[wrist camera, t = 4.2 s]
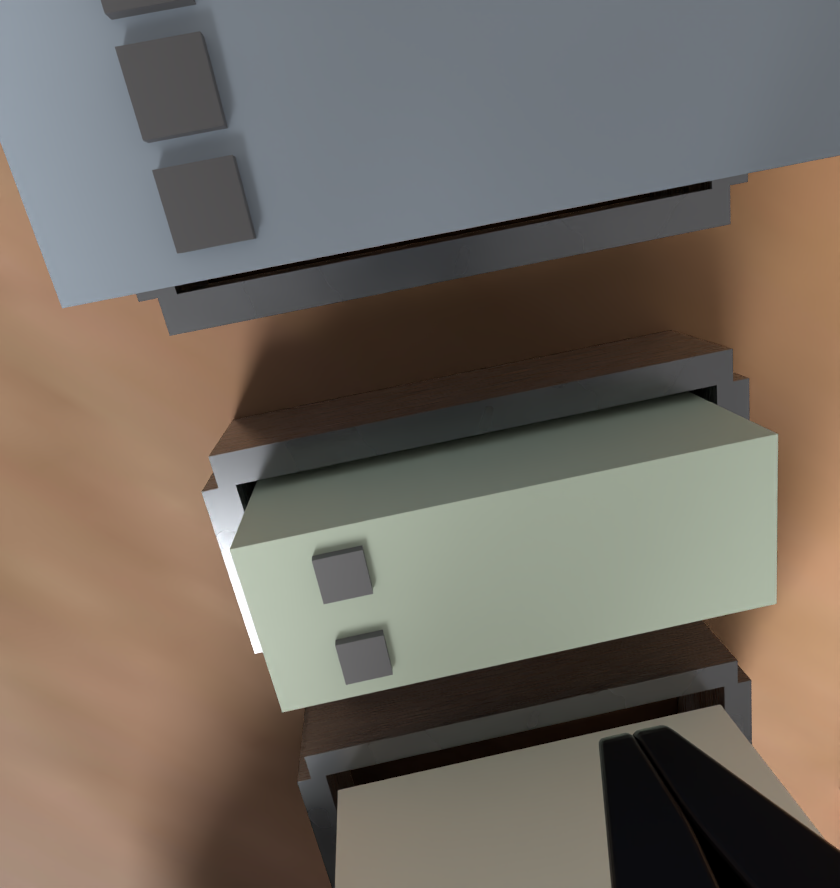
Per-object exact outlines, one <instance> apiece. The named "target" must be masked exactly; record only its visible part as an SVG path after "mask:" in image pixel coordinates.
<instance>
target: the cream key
mask: <svg viewBox="0 0 840 888" xmlns="http://www.w3.org/2000/svg"><path fill="white" fill-rule="evenodd" d="M658 725H665V726H668V727H670V728H671V729H673V730H674V731H676V732H677V733H679V734H680V735H681V736H683V737H684V738H685V739H687V740H688V741H690V742H691V743H692V744H694V745H695V746H696V747H698V748H699V749H701V750H702V751H703V752H705V753H706V754H707V755H709V756H710V757H712V758H713V759H714V760H716V761H717V762H718V763H720V764H721V765H723V766H724V767H725V768H727V769H728V770H730V771H731V772H732V773H734V774H735V775H736V776H738V777H739V778H741V779H742V780H743V781H745V782H746V783H747V784H749V785H750V786H752V787H753V788H754V789H756V790H757V791H758V792H760V793H761V794H763V795H764V796H765V797H767V798H768V799H770V800H771V801H772V802H774V803H775V804H776V805H778V806H779V807H781V808H782V809H783V810H785V811H786V812H787V813H789V814H790V815H792V816H793V817H794V818H796V819H797V820H798V821H800V822H801V823H803V824H804V825H805V826H807V827H808V828H809V829H811V830H812V831H814V832H815V833H816V834H818V835H819V836H821V837H822V838H823V836H822V835H821V834H820V832H819V831H818V830H817V829H816V827H815V826H814V825H813V823H812V822H811V821H810V820H809V818H808V817H807V816H806V814H805V813H804V812H803V810H802V809H801V808H800V807H799V805H798V804H797V803H796V801H795V800H794V799H793V798H792V796H791V795H790V794H789V792H788V791H787V790H786V789H785V787H784V786H783V785H782V783H781V782H780V781H779V779H778V778H777V777H776V776H775V774H774V773H773V772H772V770H771V769H770V768H769V767H768V765H767V764H766V763H765V761H764V760H763V759H762V758H761V756H760V755H759V754H758V752H757V751H756V750H755V749H754V747H753V746H752V745H751V743H750V742H749V741H748V739H747V738H746V737H745V736H744V734H743V733H742V732H741V730H740V729H739V728H738V727H737V725H736V724H735V723H734V721H733V720H732V719H731V718H730V716H729V715H728V714H727V712H726V711H725V710H724V709H723V707H722V706H721V705H715V706H711V707H706V708H702V709H697V710H693V711H688V712H684V713H680V714H675V715H671V716H666V717H662V718H657V719H653V720H648V721H644V722H639V723H635V724H631V725H626V726H622V727H617V728H613V729H608V730H604V731H599V732H595V733H591V734H586V735H582V736H577V737H573V738H568V739H564V740H559V741H555V742H550V743H546V744H542V745H537V746H533V747H528V748H524V749H519V750H515V751H510V752H506V753H502V754H497V755H493V756H488V757H484V758H479V759H475V760H470V761H466V762H461V763H457V764H453V765H448V766H444V767H439V768H435V769H430V770H426V771H421V772H417V773H412V774H408V775H404V776H399V777H395V778H390V779H386V780H381V781H377V782H372V783H368V784H364V785H359V786H355V787H350V788H346V789H341V790H338V807H337V837H336V868H335V888H611V879H610V868H609V857H608V846H607V834H606V823H605V812H604V800H603V789H602V778H601V766H600V755H599V740H600V739H601V738H604V737H608V736H613V735H618V734H622V733H629V734H631V735H633V733H634V732H635V731H637V730H640V729H645V728H649V727H654V726H658ZM823 839H824V838H823Z"/></svg>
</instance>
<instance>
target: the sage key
mask: <svg viewBox="0 0 840 888" xmlns="http://www.w3.org/2000/svg"><path fill="white" fill-rule="evenodd" d="M777 489H778V434H777V433H775V432H773V431H771V430H769V429H767V428H764V427H762V426H760V425H758V424H756V423H754V422H752V421H750V420H748V419H745V418H743V417H741V416H739V415H737V414H735V413H733V412H731V411H728V410H726V409H724V408H722V407H720V406H718V405H716V404H714V403H712V402H709V401H707V400H705V399H703V398H701V397H699V396H697V395H695V394H693V393H690V392H688V391H685V392H681V393H676V394H671V395H666V396H661V397H656V398H652V399H647V400H642V401H637V402H632V403H628V404H623V405H618V406H613V407H608V408H603V409H599V410H594V411H589V412H584V413H579V414H575V415H570V416H565V417H560V418H555V419H550V420H546V421H541V422H536V423H531V424H526V425H522V426H517V427H512V428H507V429H502V430H497V431H493V432H488V433H483V434H478V435H473V436H469V437H464V438H459V439H454V440H449V441H444V442H440V443H435V444H430V445H425V446H420V447H416V448H411V449H406V450H401V451H396V452H391V453H387V454H382V455H377V456H372V457H367V458H363V459H358V460H353V461H348V462H343V463H338V464H334V465H329V466H324V467H319V468H314V469H310V470H305V471H300V472H295V473H290V474H285V475H281V476H276V477H271V478H266V479H261V480H257V482H256V485H255V487H254V490H253V492H252V495H251V497H250V500H249V502H248V505H247V507H246V510H245V512H244V515H243V517H242V520H241V522H240V525H239V527H238V530H237V532H236V535H235V537H234V540H233V542H232V545H231V547H230V553H231V556H232V559H233V562H234V565H235V568H236V571H237V574H238V577H239V580H240V583H241V587H242V590H243V593H244V596H245V599H246V602H247V605H248V608H249V611H250V614H251V617H252V620H253V624H254V627H255V630H256V633H257V636H258V639H259V642H260V645H261V648H262V651H263V654H264V657H265V661H266V664H267V667H268V670H269V673H270V676H271V679H272V682H273V685H274V688H275V691H276V694H277V698H278V701H279V704H280V707H281V710H282V712H286V711H291V710H296V709H300V708H305V707H309V706H314V705H318V704H323V703H327V702H332V701H336V700H341V699H346V698H350V697H355V696H359V695H364V694H368V693H373V692H377V691H382V690H386V689H391V688H396V687H400V686H405V685H409V684H414V683H418V682H423V681H427V680H432V679H436V678H441V677H446V676H450V675H455V674H459V673H464V672H468V671H473V670H477V669H482V668H487V667H491V666H496V665H500V664H505V663H509V662H514V661H518V660H523V659H527V658H532V657H537V656H541V655H546V654H550V653H555V652H559V651H564V650H568V649H573V648H577V647H582V646H587V645H591V644H596V643H600V642H605V641H609V640H614V639H618V638H623V637H627V636H632V635H637V634H641V633H646V632H650V631H655V630H659V629H664V628H668V627H673V626H677V625H682V624H687V623H691V622H696V621H700V620H705V619H709V618H714V617H718V616H723V615H727V614H732V613H737V612H741V611H746V610H750V609H755V608H759V607H764V606H768V605H773V604H776V596H777Z"/></svg>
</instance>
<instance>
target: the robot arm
mask: <svg viewBox="0 0 840 888" xmlns="http://www.w3.org/2000/svg"><path fill="white" fill-rule="evenodd" d="M599 755H600V766H601V778H602V789H603V800H604V812H605V823H606V834H607V846H608V857H609V868H610V879H611V888H840V850H838V849H837V848H836V847H834V846H833V845H832V844H830V843H829V842H827V841H826V840H825V839H823V838H822V837H821V836H819V835H818V834H816V833H815V832H814V831H812V830H811V829H809V828H808V827H807V826H805V825H804V824H803V823H801V822H800V821H798V820H797V819H796V818H794V817H793V816H792V815H790V814H789V813H787V812H786V811H785V810H783V809H782V808H781V807H779V806H778V805H776V804H775V803H774V802H772V801H771V800H770V799H768V798H767V797H765V796H764V795H763V794H761V793H760V792H758V791H757V790H756V789H754V788H753V787H752V786H750V785H749V784H747V783H746V782H745V781H743V780H742V779H741V778H739V777H738V776H736V775H735V774H734V773H732V772H731V771H730V770H728V769H727V768H725V767H724V766H723V765H721V764H720V763H718V762H717V761H716V760H714V759H713V758H712V757H710V756H709V755H707V754H706V753H705V752H703V751H702V750H701V749H699V748H698V747H696V746H695V745H694V744H692V743H691V742H690V741H688V740H687V739H685V738H684V737H683V736H681V735H680V734H679V733H677V732H676V731H674V730H673V729H671V728H670V727H668V726H665V725H658V726H654V727H649V728H645V729H640V730H637V731H635V732H634V733H633V735H631V734H629V733H622V734H618V735H613V736H608V737H604V738H601V739H600V740H599Z"/></svg>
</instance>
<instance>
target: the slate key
mask: <svg viewBox="0 0 840 888" xmlns="http://www.w3.org/2000/svg"><path fill="white" fill-rule="evenodd" d="M0 142H1V145H2V148H3V150H4V153H5V156H6V158H7V161H8V164H9V166H10V169H11V172H12V174H13V177H14V180H15V182H16V185H17V188H18V191H19V193H20V196H21V199H22V201H23V204H24V207H25V209H26V212H27V215H28V217H29V220H30V223H31V226H32V228H33V231H34V234H35V236H36V239H37V242H38V244H39V247H40V250H41V252H42V255H43V258H44V261H45V263H46V266H47V269H48V271H49V274H50V277H51V279H52V282H53V285H54V287H55V290H56V293H57V295H58V298H59V301H60V304H61V306H62V308H66V307H71V306H76V305H81V304H86V303H91V302H96V301H101V300H106V299H111V298H116V297H122V296H127V295H132V294H137V293H142V292H147V291H152V290H157V289H162V288H167V287H172V286H178V285H183V284H188V283H193V282H198V281H203V280H208V279H213V278H218V277H223V276H228V275H233V274H239V273H244V272H249V271H254V270H259V269H264V268H269V267H274V266H279V265H284V264H289V263H295V262H300V261H305V260H310V259H315V258H320V257H325V256H330V255H335V254H340V253H345V252H350V251H356V250H361V249H366V248H371V247H376V246H381V245H386V244H391V243H396V242H401V241H406V240H412V239H417V238H422V237H427V236H432V235H437V234H442V233H447V232H452V231H457V230H462V229H467V228H473V227H478V226H483V225H488V224H493V223H498V222H503V221H508V220H513V219H518V218H523V217H529V216H534V215H539V214H544V213H549V212H554V211H559V210H564V209H569V208H574V207H579V206H584V205H590V204H595V203H600V202H605V201H610V200H615V199H620V198H625V197H630V196H635V195H640V194H646V193H651V192H656V191H661V190H666V189H671V188H676V187H681V186H686V185H691V184H696V183H701V182H707V181H712V180H717V179H722V178H727V177H732V176H737V175H742V174H747V173H752V172H757V171H763V170H768V169H773V168H778V167H783V166H788V165H793V164H798V163H803V162H808V161H813V160H818V159H824V158H829V157H834V156H839V155H840V0H0Z"/></svg>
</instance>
